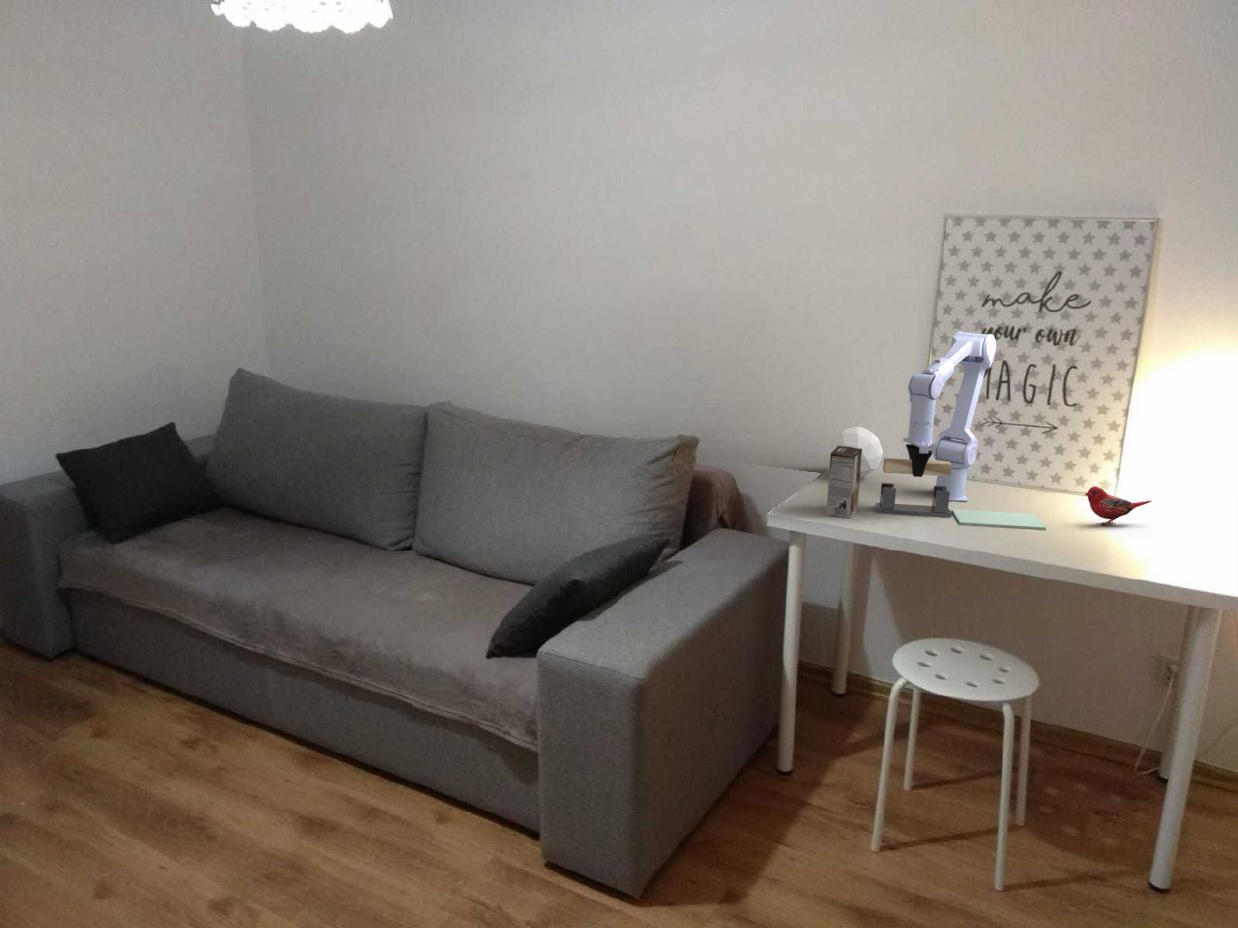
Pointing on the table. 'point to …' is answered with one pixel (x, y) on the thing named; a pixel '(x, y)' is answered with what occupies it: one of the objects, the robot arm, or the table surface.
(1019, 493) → the table surface
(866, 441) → the white faceted ovoid
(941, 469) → the beech rail
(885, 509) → the grey u-shaped holder
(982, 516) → the green mat
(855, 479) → the coffee box
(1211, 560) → the table surface
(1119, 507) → the decorative bird figurine
